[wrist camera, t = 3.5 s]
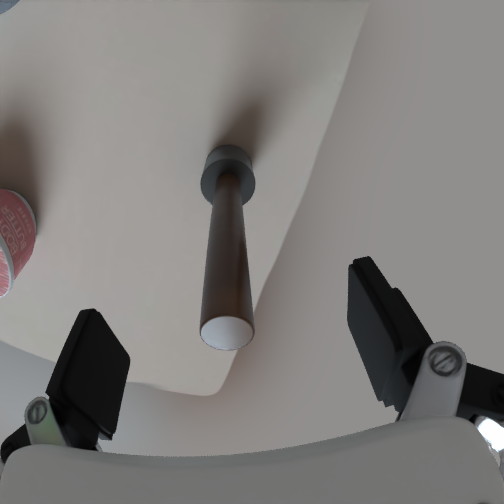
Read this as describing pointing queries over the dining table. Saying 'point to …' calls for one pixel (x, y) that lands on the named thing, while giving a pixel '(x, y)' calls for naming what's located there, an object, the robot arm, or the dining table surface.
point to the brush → (227, 251)
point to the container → (14, 237)
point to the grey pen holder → (6, 5)
